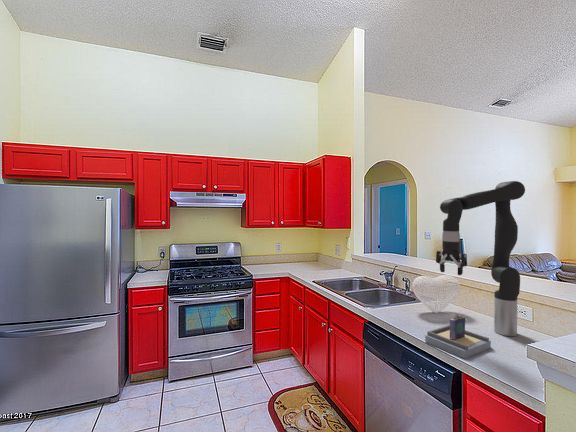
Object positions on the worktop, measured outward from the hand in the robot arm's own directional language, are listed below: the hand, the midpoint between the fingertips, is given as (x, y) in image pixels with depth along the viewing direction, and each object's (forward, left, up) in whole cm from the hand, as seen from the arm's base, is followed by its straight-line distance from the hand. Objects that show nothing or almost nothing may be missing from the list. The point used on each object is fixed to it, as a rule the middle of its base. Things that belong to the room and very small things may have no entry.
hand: (450, 273), depth 145 cm
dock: (+8, +8, -30) cm, 32 cm away
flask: (+8, +8, -27) cm, 29 cm away
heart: (-24, -24, -30) cm, 45 cm away
